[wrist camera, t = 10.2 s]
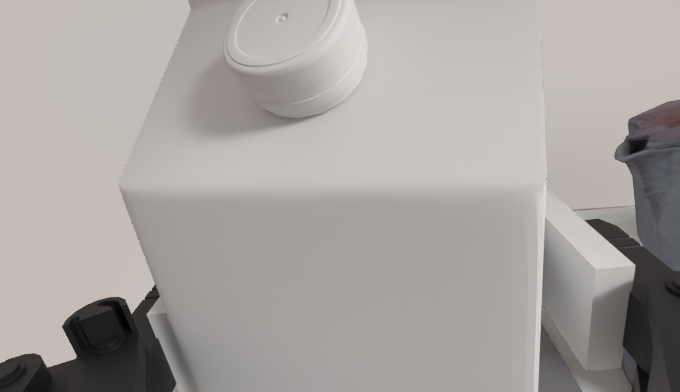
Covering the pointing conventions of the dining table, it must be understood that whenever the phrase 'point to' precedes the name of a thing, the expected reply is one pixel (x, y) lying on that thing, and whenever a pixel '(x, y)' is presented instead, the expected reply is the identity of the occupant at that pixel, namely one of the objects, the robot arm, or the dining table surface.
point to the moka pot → (655, 186)
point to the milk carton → (349, 195)
